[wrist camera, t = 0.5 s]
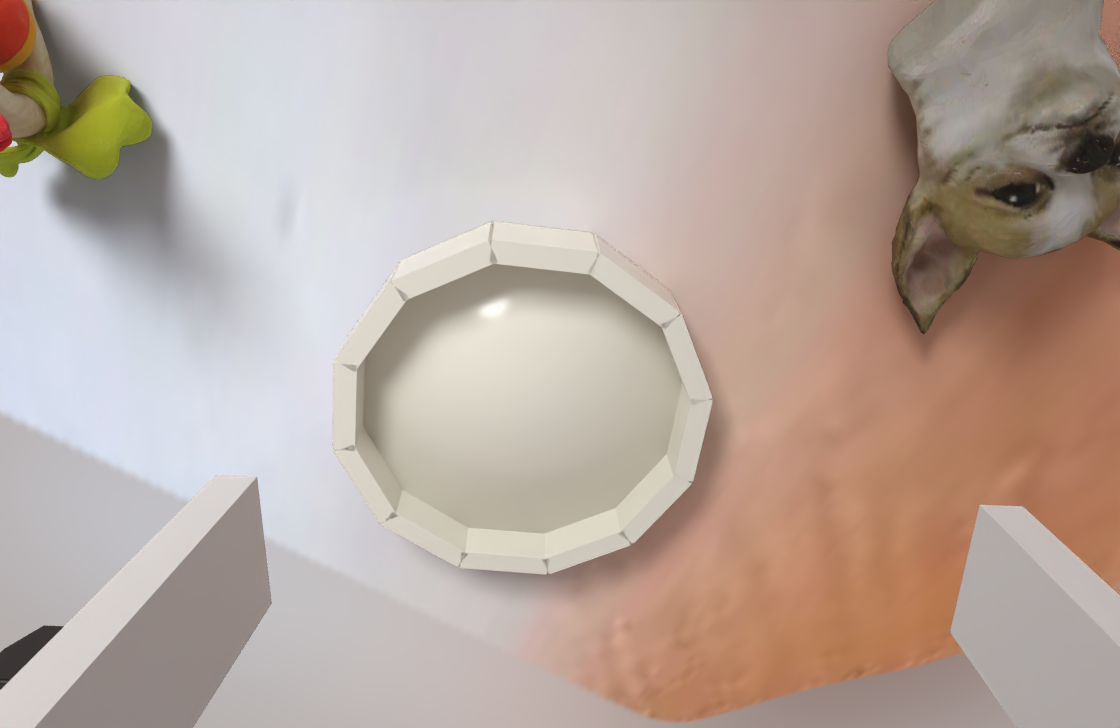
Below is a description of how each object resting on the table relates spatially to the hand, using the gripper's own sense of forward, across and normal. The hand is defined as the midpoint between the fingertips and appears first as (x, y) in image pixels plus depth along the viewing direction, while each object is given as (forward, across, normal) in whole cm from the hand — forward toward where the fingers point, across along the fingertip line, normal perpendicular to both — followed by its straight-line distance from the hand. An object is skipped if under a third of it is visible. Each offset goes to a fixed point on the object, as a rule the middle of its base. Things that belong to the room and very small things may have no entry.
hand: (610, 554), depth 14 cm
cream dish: (+23, -3, -6) cm, 24 cm away
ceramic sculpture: (+23, +16, +7) cm, 29 cm away
